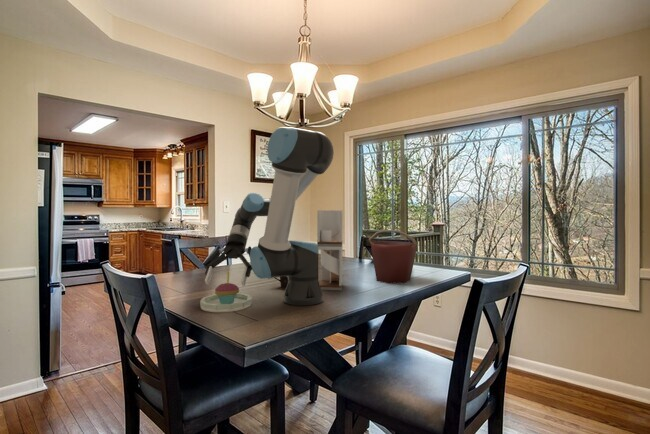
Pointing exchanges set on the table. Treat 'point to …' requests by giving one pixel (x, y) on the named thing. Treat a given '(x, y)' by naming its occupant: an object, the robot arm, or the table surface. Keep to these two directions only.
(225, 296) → the cupcake
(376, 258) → the bucket
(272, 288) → the table surface
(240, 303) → the rimmed plate
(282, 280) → the coffee mug
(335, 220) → the display case
